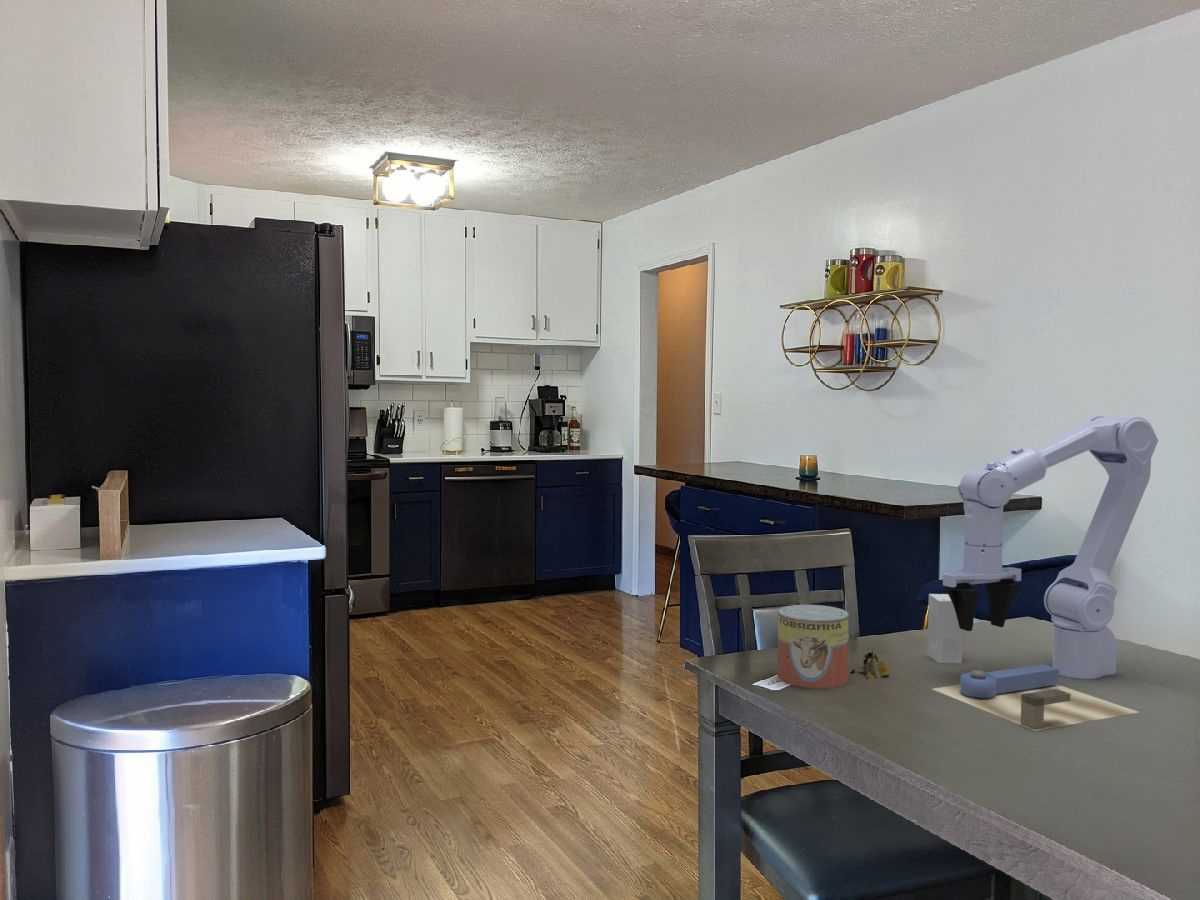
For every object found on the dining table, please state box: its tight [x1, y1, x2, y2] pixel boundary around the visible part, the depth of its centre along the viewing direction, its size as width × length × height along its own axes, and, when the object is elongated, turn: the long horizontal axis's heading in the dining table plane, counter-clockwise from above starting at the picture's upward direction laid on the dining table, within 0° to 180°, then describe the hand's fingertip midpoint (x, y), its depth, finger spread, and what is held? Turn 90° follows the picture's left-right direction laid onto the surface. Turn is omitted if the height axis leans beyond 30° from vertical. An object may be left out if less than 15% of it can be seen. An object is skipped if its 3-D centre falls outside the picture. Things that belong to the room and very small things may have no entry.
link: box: [959, 664, 1060, 698], centre depth 144 cm, size 18×5×3 cm, turn 112°
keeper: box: [1020, 689, 1071, 731], centre depth 129 cm, size 6×2×5 cm, turn 112°
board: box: [931, 684, 1140, 732], centre depth 139 cm, size 20×20×1 cm
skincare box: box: [926, 593, 964, 664], centre depth 162 cm, size 6×4×12 cm
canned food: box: [777, 604, 850, 689], centre depth 150 cm, size 11×11×12 cm
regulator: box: [849, 650, 890, 682], centre depth 151 cm, size 8×4×15 cm
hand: (981, 627), depth 150 cm, fingers open, 6 cm apart
